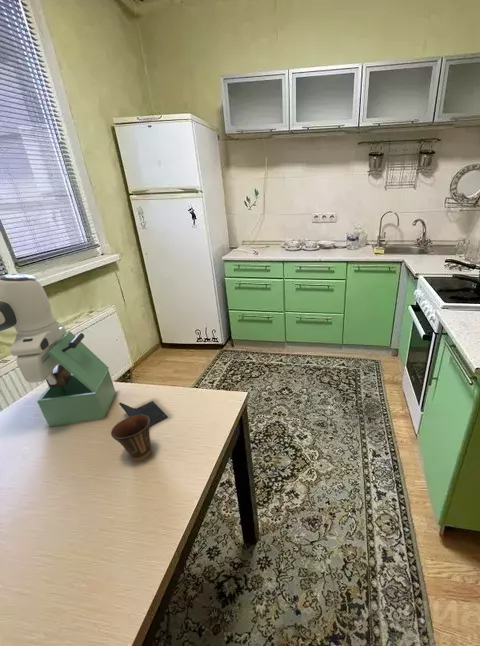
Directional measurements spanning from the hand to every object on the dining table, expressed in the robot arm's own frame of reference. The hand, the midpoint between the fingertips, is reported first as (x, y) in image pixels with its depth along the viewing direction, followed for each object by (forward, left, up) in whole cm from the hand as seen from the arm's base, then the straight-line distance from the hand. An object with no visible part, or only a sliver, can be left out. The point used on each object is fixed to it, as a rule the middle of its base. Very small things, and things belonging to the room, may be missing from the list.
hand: (58, 377), depth 92 cm
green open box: (+3, 0, -13) cm, 13 cm away
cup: (+23, -22, -13) cm, 35 cm away
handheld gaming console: (+22, -8, -13) cm, 27 cm away
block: (0, 0, -2) cm, 2 cm away
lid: (+7, 0, +4) cm, 8 cm away
